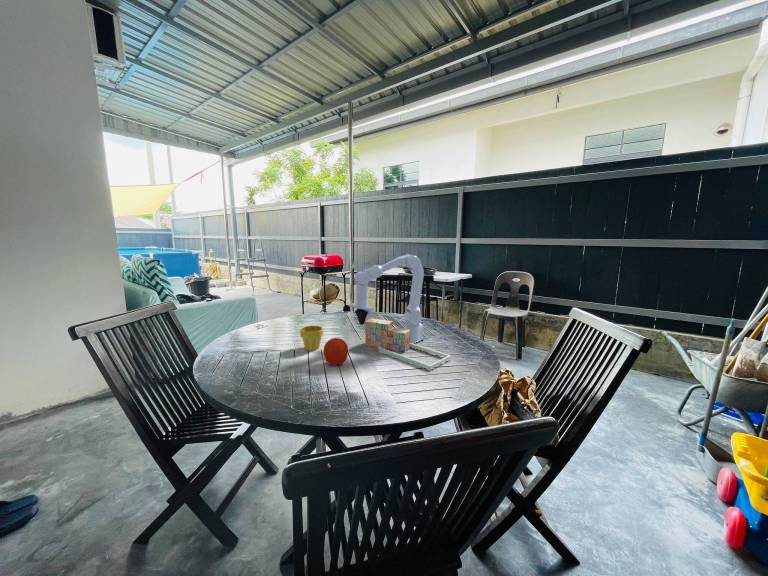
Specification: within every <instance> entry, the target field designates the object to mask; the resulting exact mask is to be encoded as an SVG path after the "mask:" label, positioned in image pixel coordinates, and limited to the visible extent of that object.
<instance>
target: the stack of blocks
mask: <svg viewBox="0 0 768 576" xmlns="http://www.w3.org/2000/svg"><path fill="white" fill-rule="evenodd" d="M364 329H365V330H364V331H365V333H364V334H365V336H364V338H365V340H364V341H365V342H364V343H365V344H366V345H365V346H369V345H371V346H370V347H374V346H376V348H379V347H381V348H384V349H385V348H387V349H386V350H390V349H393V350H392V351H395V350H397V351H396V352H400V351H402V353H406V352H407V351H408V350H409V349H410V330H407V329H405V328H401V327H394V321H393V320H385V319H378V318H369V319H367V320H365V323H364ZM406 350H407V351H406ZM405 351H406V352H405Z"/></svg>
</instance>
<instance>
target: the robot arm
mask: <svg viewBox="0 0 768 576" xmlns="http://www.w3.org/2000/svg"><path fill="white" fill-rule="evenodd" d="M397 267H404V268H407V269H408V270H409V271H410V272H411V273H412V279H411V280H412V281H411V287H410V295H409V300H408V301H409V302H408V305H407V307H406V310H405V312H404V313H403V317H404V319H405V322H404V323H405V325H404V326H405V327H404V329H407V330H410V343H413V344H414V343H415V344H417V343H416V342H418V341H419V340H421V339H424V325H423V324H422V323H421V322H422V319H423V318H422V313H421V309H420V303H421V299H422V298H421V297H422V290H423V283H424V277H425V276H424V275H425V270H424V267H423V265H422V261H421V259H420V258H419V257H418V256H417V255H413V254H409V253H406V254H404V255H399V256H398V257H396V258H393V259H392V260H390V261H388V262H386V263H384V264H382V265H379V264H373V265H371V267H368V268H367V269H365V268H364V269H363V271H358V272H357V273H356V274H355V277H354V280H355V302H353V303H350V308H351V309H355V310H354V312H355V314H356V317H357V320H358V324H359V325H360V326H363V325H365V321H366V319H367V317H368V314H369V313H371V314H372V313H375V308H374V307H372V306H370V305H369V301H368V299H369V289H368V288H369V287H368V284H369V282H372V281H373V280H376V279H378V278H381V277H382V276H383V274H384V273H385V272H387V271H391V269H395V268H397ZM418 343H419V342H418Z"/></svg>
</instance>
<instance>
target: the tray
mask: <svg viewBox="0 0 768 576" xmlns="http://www.w3.org/2000/svg"><path fill="white" fill-rule="evenodd" d="M410 347H413V348H416V349H419V350H418V351H420V350H423V351H426V352H430V353H433V354H436V355H439V356H443V357H445V358H440V359H439V360H438V361H435V362H434V363H433V362H432V363H431V364H428V363H426V362H422V361H420V360H417V359H414V358H411V357H409V356H406V355H403V354H400V353H397V352H396V351H395V352H394V351H393V350H390V349H385V348H381V347H380V348H379V347H378V352H379V353H381V354H383V353H384V355H386V354H387V355H386V356H389V355H390V356H389V357H391V356H392V357H391V358H394V357H395V359H397V358H398V360H400V361H402V360H403V362H405V361H406V362H405V363H408V362H409V363H408V364H410V363H412V364H411V365H413V364H414V365H413V366H416V365H417V366H416V367H418V366H420V367H419V368H421V367H423V368H422V369H424V368H426V369H429V370H431V369H433V368H434V367H436V366H438V365H440V364H441V363H443V362H445V361H447V360H449V359H451V360H452V355H451V354H448V353H444V352H441V351H438V350H435V349H431V348H429V347H425V346H422V345H419V344H417V343H415V344H413V343H410ZM413 348H412V349H413ZM416 349H415V350H416ZM423 351H422V352H423ZM426 352H425V353H426ZM440 366H441V365H440ZM426 369H425V370H426ZM429 370H428V371H429ZM433 370H434V369H433ZM431 371H432V370H431Z"/></svg>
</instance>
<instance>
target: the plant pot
mask: <svg viewBox="0 0 768 576" xmlns="http://www.w3.org/2000/svg"><path fill="white" fill-rule="evenodd" d="M299 331H300V333H299V334H300V337H301V338H302V342H303V345H304V349H305V350H306V351H308V350H309V352H310V351H312V350H313V351H317V350H319V349H320V345H321V340H322V336H323V335H324V328H323V326H321V325H314V324H312V325H305V326H303V327H301V328H300V329H299Z"/></svg>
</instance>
